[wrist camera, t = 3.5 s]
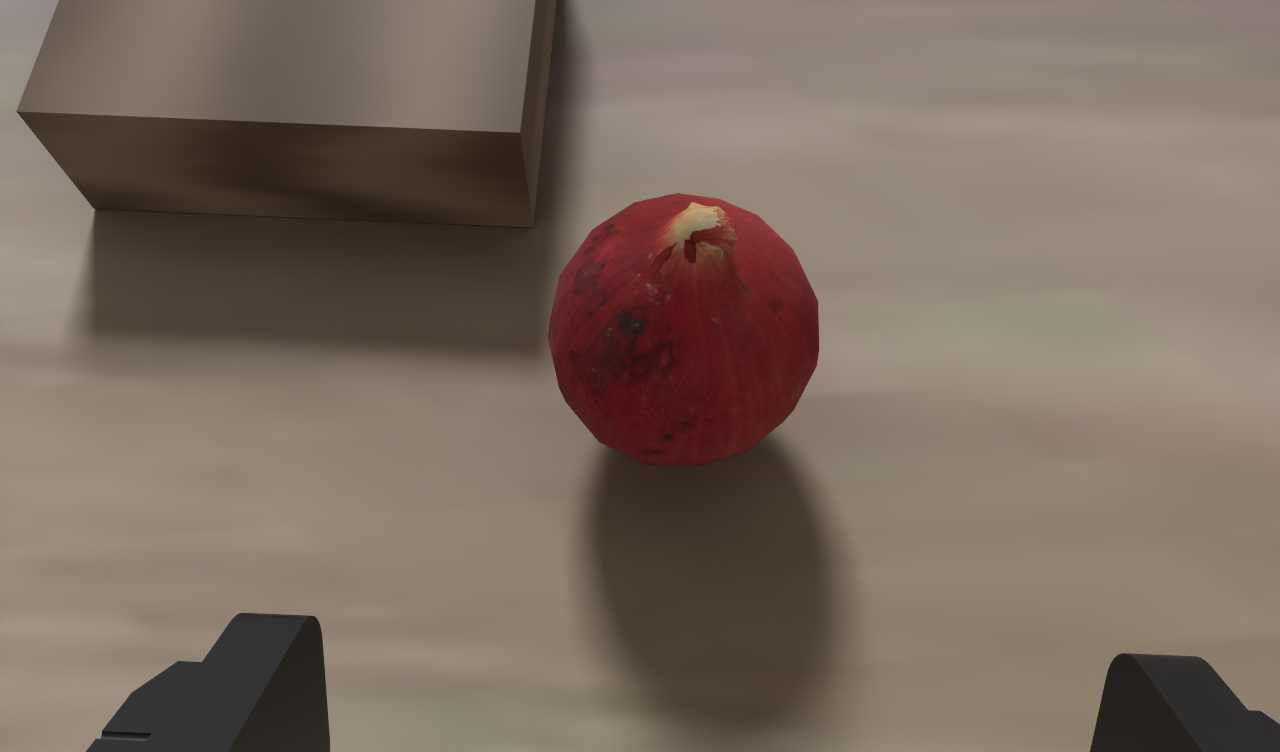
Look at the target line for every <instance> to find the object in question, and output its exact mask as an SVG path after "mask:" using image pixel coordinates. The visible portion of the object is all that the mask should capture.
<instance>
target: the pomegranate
mask: <svg viewBox="0 0 1280 752" xmlns="http://www.w3.org/2000/svg"><path fill="white" fill-rule="evenodd" d="M548 339H549V344H550V348H551V353H552V357H553V362H554V366H555V371H556V376H557V380H558V385H559V388H560V391H561V393H562V395H563V397H564V399H565V401H566V403H567V404H568V405H569V406H570V408H571V409H572V410H573V411H574V412H575V414H576V415H577V416H578V417H579V418H580V420H581V421H582V422H583V423H584V424H585V426H586V427H587V428H588V429H589V431H590V432H591V433H592V434H593V435H594V437H595V438H596V439H597V440H598V441H599V442H600V443H602V444H604V445H606V446H608V447H611V448H613V449H615V450H617V451H619V452H621V453H623V454H626V455H628V456H630V457H632V458H634V459H636V460H638V461H641V462H643V463H645V464H647V465H672V466H702V465H705V464H708V463H711V462H714V461H717V460H721V459H724V458H727V457H730V456H733V455H736V454H739V453H742V452H746V451H748V450H749V449H750V448H752V447H753V446H754V445H755V444H757V443H758V442H759V441H760V440H762V439H763V438H764V437H765V436H766V435H768V434H769V433H770V432H771V431H773V430H774V429H775V428H776V427H778V426H779V425H780V424H781V423H783V422H784V421H785V419H786V418H787V417H788V416H789V415H790V414H791V413H792V411H793V410H794V409H795V407H796V405H797V403H798V401H799V399H800V397H801V395H802V393H803V391H804V389H805V387H806V385H807V383H808V382H809V380H810V378H811V376H812V374H813V372H814V370H815V368H816V366H817V360H818V353H819V323H818V300H817V298H816V296H815V294H814V292H813V290H812V288H811V286H810V283H809V281H808V279H807V277H806V275H805V273H804V271H803V269H802V267H801V264H800V262H799V260H798V258H797V256H796V254H795V252H794V250H793V249H792V248H791V247H790V246H789V245H788V244H787V243H786V242H785V241H784V240H783V239H782V238H781V237H780V236H779V235H778V234H777V233H776V232H775V231H774V230H773V229H771V228H770V227H769V226H768V225H767V224H766V223H765V222H764V221H763V220H762V219H761V218H760V217H759V216H758V215H756V214H753V213H751V212H749V211H746V210H744V209H741V208H739V207H737V206H734V205H732V204H730V203H727V202H725V201H722V200H720V199H716V198H708V197H701V196H694V195H686V194H679V193H677V194H671V195H667V196H662V197H658V198H653V199H649V200H644V201H640V202H635V203H633V204H631V205H630V206H628V207H627V208H625V209H624V210H622V211H620V212H619V213H617V214H616V215H614V216H613V217H611V218H609V219H608V220H606V221H605V222H603V223H602V224H600V225H599V226H597V227H596V228H594V229H593V230H592V231H591V232H590V234H589V235H588V237H587V238H586V239H585V241H584V242H583V244H582V245H581V246H580V248H579V249H578V250H577V252H576V253H575V255H574V256H573V257H572V259H571V260H570V262H569V263H568V264H567V266H566V267H565V269H564V270H563V272H562V273H561V275H560V278H559V282H558V287H557V291H556V296H555V300H554V305H553V309H552V314H551V318H550V326H549V335H548Z"/></svg>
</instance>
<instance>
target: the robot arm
mask: <svg viewBox="0 0 1280 752" xmlns="http://www.w3.org/2000/svg"><path fill="white" fill-rule="evenodd" d="M86 752H330V736H329V722H328V708H327V695H326V681H325V668H324V654H323V641H322V632H321V627H320V624H319V621H318V620H317V618H316V617H315V616H303V615H280V614H257V613H240V614H238V615H236V616H235V617H234V618H233V619H232V620H231V622H230V623H229V625H228V626H227V627H226V629H225V630H224V632H223V633H222V634H221V636H220V637H219V639H218V640H217V641H216V643H215V644H214V646H213V647H212V649H211V650H210V651H209V653H208V654H207V656H206V657H205V658H204V660H203V661H202V662H187V661H178V662H176V663H175V664H173V665H172V666H170V667H169V668H167V669H166V670H164V671H163V672H161V673H160V674H159V675H157V676H156V677H154V678H153V679H151V680H150V681H148V682H147V683H145V684H144V685H142V686H141V687H139V688H138V689H137V690H135V691H134V692H132V693H131V694H130V696H129V697H128V698H127V700H126V701H125V702H124V703H123V705H122V706H121V707H120V709H119V710H118V711H117V712H116V714H115V715H114V716H113V718H112V719H111V720H110V721H109V723H108V724H107V725H106V727H105V728H104V729H103V730H102V736H101V739H95V741H94V742H93V743H92V745H91V746H90V747H89V748H88V750H87V751H86ZM1090 752H1280V724H1278V723H1277V722H1276V721H1274V720H1273V719H1271V718H1270V717H1268V716H1267V715H1265V714H1264V713H1263V712H1261V711H1249V710H1247V709H1246V707H1245V706H1244V705H1243V704H1242V703H1241V701H1240V700H1239V699H1238V698H1237V697H1236V695H1235V694H1234V693H1233V692H1232V691H1231V689H1230V688H1229V687H1228V686H1227V685H1226V683H1225V682H1224V681H1223V680H1222V679H1221V678H1220V676H1219V675H1218V674H1217V673H1216V672H1215V670H1214V669H1213V668H1212V667H1211V666H1210V665H1209V664H1208V663H1207V662H1206V661H1205V660H1203V659H1202V658H1199V657H1195V656H1172V655H1149V654H1126V653H1124V654H1119V655H1117V656H1116V657H1115V658H1114V659H1113V661H1112V662H1111V664H1110V667H1109V669H1108V673H1107V676H1106V681H1105V686H1104V690H1103V695H1102V699H1101V704H1100V708H1099V713H1098V718H1097V722H1096V727H1095V731H1094V736H1093V741H1092V745H1091V750H1090Z"/></svg>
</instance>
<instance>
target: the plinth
mask: <svg viewBox="0 0 1280 752" xmlns="http://www.w3.org/2000/svg"><path fill="white" fill-rule="evenodd" d="M556 8H557V0H59V2H58V5H57V7H56V10H55V12H54V15H53V18H52V20H51V23H50V25H49V28H48V31H47V33H46V36H45V38H44V41H43V44H42V46H41V49H40V52H39V54H38V57H37V59H36V62H35V65H34V67H33V70H32V72H31V75H30V78H29V80H28V83H27V85H26V88H25V91H24V93H23V96H22V98H21V101H20V104H19V106H18V109H17V113H18V114H19V115H20V116H21V118H22V119H23V120H24V121H25V123H26V124H27V125H28V126H29V128H30V129H31V130H32V132H33V133H34V134H35V135H36V137H37V138H38V139H39V140H40V142H41V143H42V144H43V145H44V147H45V148H46V149H47V150H48V152H49V153H50V154H51V155H52V157H53V158H54V159H55V160H56V162H57V163H58V164H59V165H60V167H61V168H62V169H63V170H64V172H65V173H66V174H67V175H68V177H69V178H70V179H71V180H72V182H73V183H74V184H75V186H76V187H77V188H78V189H79V191H80V192H81V193H82V194H83V196H84V197H85V198H86V199H87V201H88V202H89V203H90V204H91V206H92V207H93V208H94V209H112V210H136V211H159V212H182V213H206V214H229V215H252V216H276V217H299V218H322V219H346V220H369V221H392V222H416V223H439V224H462V225H486V226H509V227H532V228H534V219H535V209H536V200H537V190H538V181H539V171H540V162H541V152H542V142H543V133H544V123H545V114H546V104H547V95H548V85H549V75H550V66H551V56H552V47H553V37H554V27H555V18H556Z"/></svg>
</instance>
